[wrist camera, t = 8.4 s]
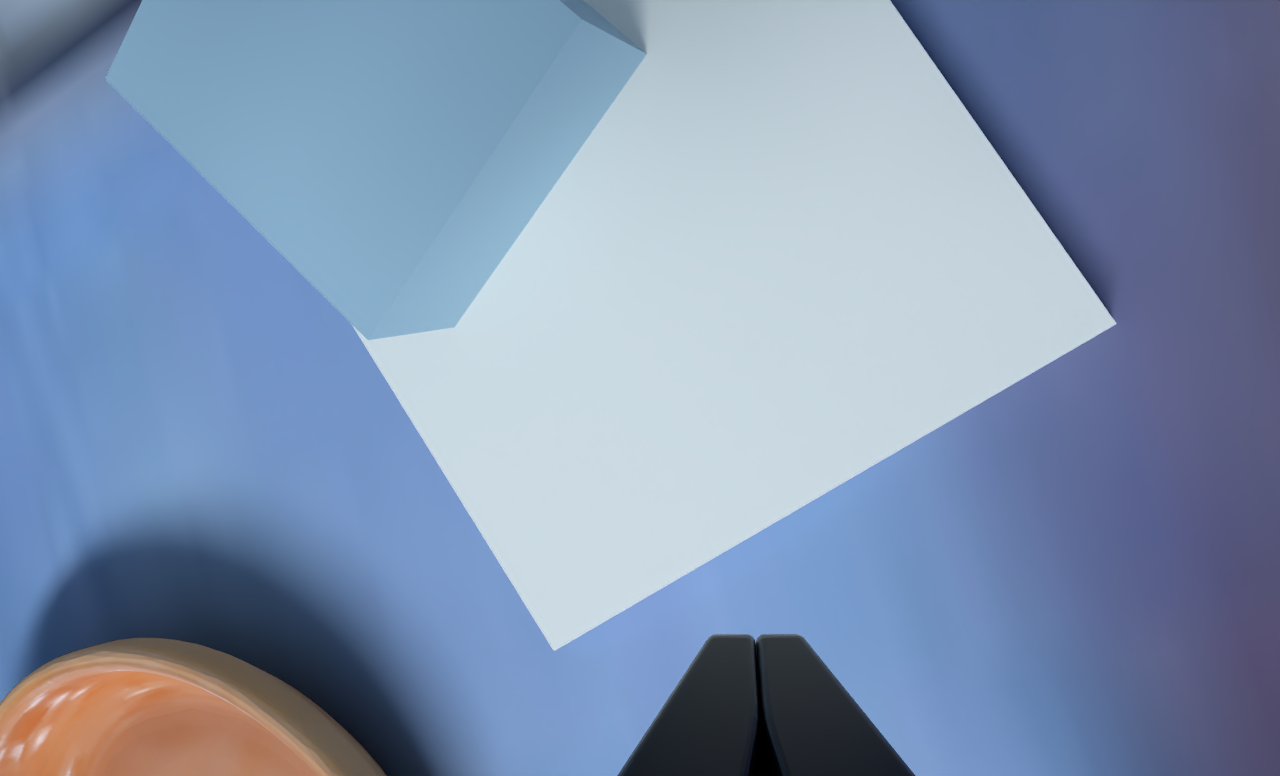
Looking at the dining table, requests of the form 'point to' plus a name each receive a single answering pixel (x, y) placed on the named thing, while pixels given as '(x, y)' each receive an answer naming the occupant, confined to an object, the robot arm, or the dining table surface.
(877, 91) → the mat
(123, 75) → the box
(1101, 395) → the dining table surface
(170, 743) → the saucer
